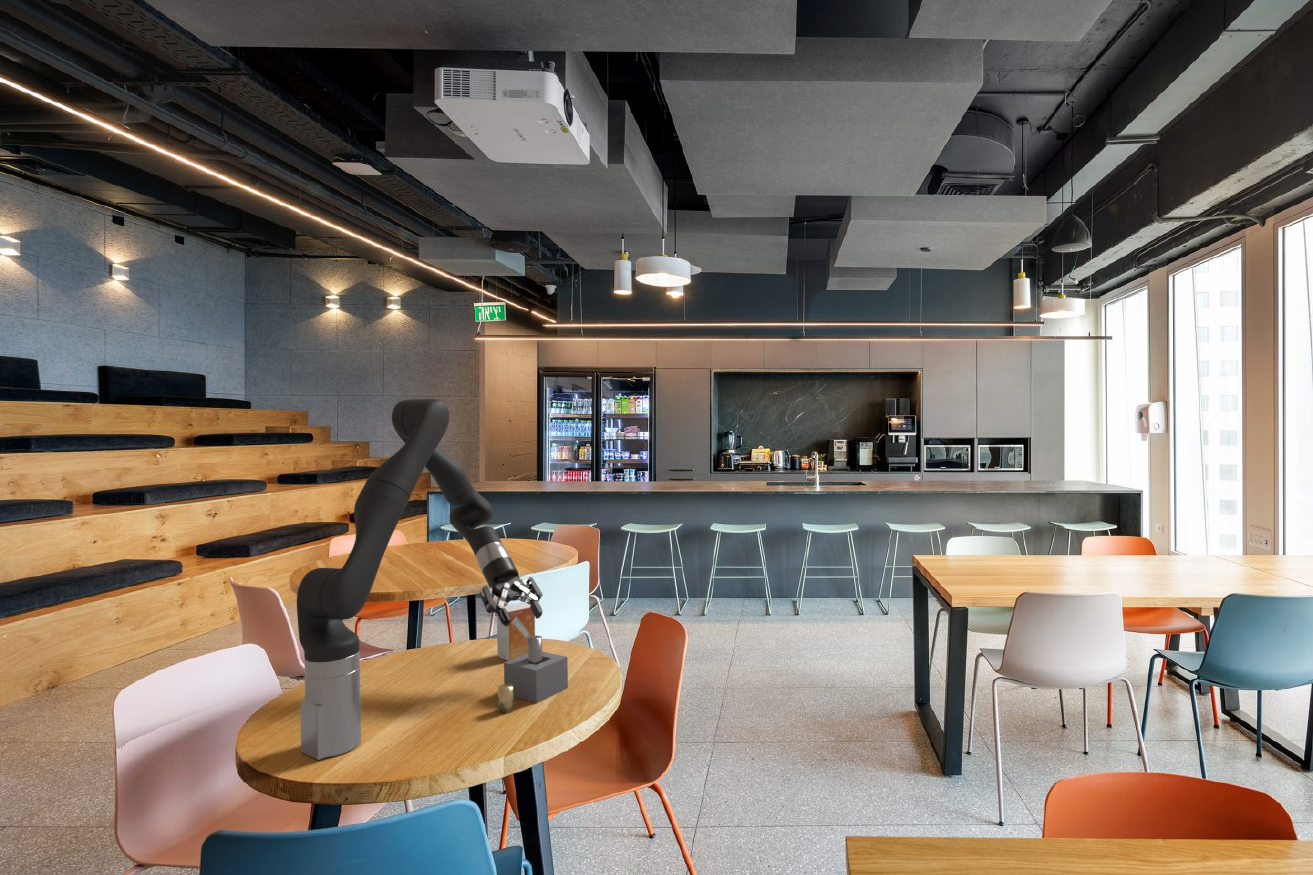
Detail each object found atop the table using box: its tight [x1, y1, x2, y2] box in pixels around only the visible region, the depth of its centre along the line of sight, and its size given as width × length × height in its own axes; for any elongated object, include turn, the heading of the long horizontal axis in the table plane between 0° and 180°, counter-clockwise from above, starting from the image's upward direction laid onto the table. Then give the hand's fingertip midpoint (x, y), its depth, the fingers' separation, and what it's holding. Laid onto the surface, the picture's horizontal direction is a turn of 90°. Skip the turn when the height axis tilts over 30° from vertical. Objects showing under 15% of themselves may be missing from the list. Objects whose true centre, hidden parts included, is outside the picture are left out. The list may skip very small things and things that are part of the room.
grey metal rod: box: [528, 635, 543, 665], centre depth 142 cm, size 3×3×12 cm
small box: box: [496, 602, 536, 662], centre depth 167 cm, size 8×6×13 cm
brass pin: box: [497, 683, 515, 715], centre depth 132 cm, size 3×3×5 cm
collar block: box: [503, 650, 569, 704], centre depth 142 cm, size 10×10×7 cm
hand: (524, 620), depth 146 cm, fingers open, 8 cm apart
